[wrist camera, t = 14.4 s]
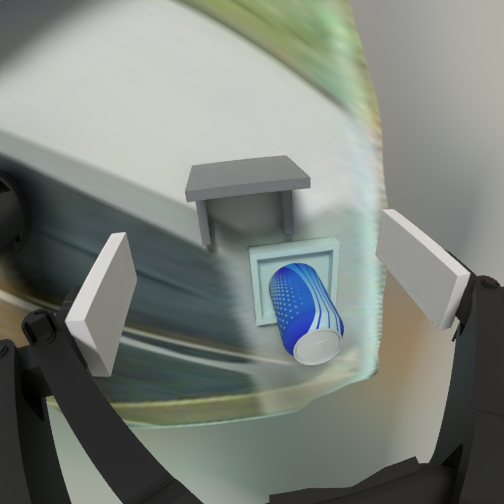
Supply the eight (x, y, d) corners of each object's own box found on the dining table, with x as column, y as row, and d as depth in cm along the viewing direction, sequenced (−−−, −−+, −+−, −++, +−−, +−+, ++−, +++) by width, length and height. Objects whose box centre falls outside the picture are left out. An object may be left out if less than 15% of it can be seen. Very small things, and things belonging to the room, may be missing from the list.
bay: (203, 237, 48) (201, 281, 38) (192, 165, 43) (185, 191, 32) (289, 227, 49) (310, 267, 39) (286, 155, 44) (310, 177, 33)
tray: (254, 316, 57) (256, 325, 54) (247, 247, 50) (249, 254, 48) (330, 304, 57) (334, 313, 55) (334, 236, 51) (339, 243, 48)
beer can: (304, 304, 56) (330, 372, 42) (260, 295, 54) (276, 366, 40) (324, 265, 52) (360, 328, 38) (278, 253, 50) (303, 318, 36)
